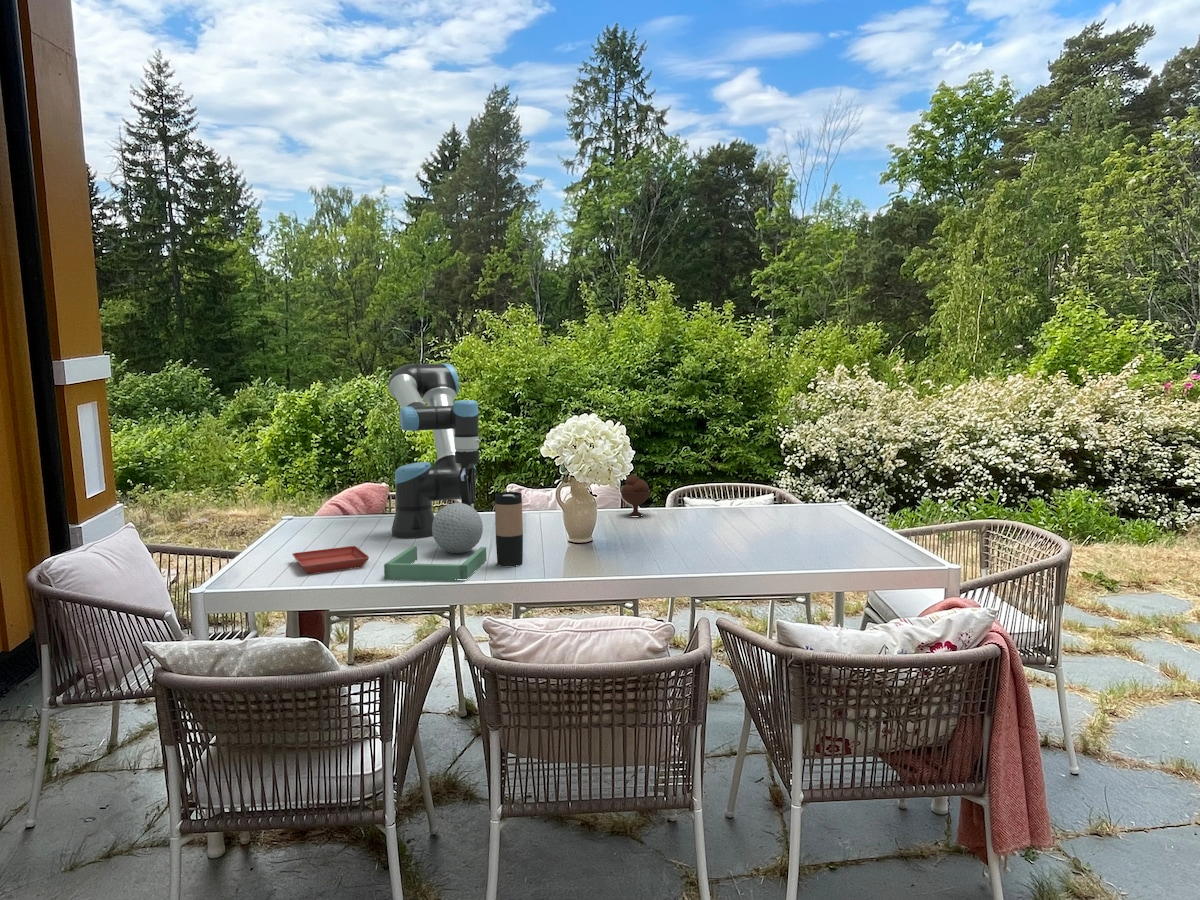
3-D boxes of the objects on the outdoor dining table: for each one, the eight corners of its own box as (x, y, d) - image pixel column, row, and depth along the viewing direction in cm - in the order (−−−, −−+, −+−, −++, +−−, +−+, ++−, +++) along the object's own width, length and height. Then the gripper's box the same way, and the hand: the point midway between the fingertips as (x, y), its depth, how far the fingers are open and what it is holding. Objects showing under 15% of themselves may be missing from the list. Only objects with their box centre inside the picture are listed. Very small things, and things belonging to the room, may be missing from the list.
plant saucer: (292, 563, 235) (291, 552, 234) (355, 555, 243) (355, 544, 243) (302, 577, 219) (302, 565, 219) (370, 568, 228) (370, 557, 227)
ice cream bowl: (619, 518, 293) (618, 477, 291) (623, 512, 304) (623, 473, 302) (648, 519, 291) (648, 477, 290) (651, 513, 302) (651, 473, 301)
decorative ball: (493, 551, 245) (492, 502, 243) (454, 561, 234) (452, 509, 232) (462, 544, 255) (460, 497, 253) (422, 553, 243) (420, 504, 242)
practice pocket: (412, 559, 236) (411, 545, 236) (486, 560, 234) (486, 547, 233) (384, 579, 215) (384, 564, 215) (465, 581, 213) (465, 566, 212)
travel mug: (498, 560, 234) (496, 491, 232) (525, 560, 234) (523, 491, 232) (494, 567, 226) (492, 496, 224) (521, 567, 226) (520, 496, 224)
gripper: (473, 452, 246) (475, 529, 249) (484, 447, 259) (486, 520, 262) (449, 452, 247) (451, 528, 250) (461, 447, 260) (463, 520, 262)
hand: (469, 524), depth 256 cm, fingers closed
